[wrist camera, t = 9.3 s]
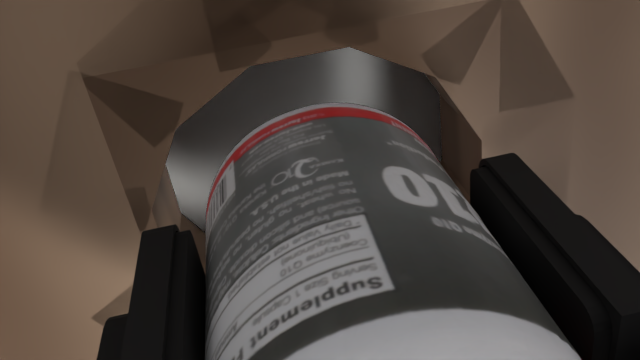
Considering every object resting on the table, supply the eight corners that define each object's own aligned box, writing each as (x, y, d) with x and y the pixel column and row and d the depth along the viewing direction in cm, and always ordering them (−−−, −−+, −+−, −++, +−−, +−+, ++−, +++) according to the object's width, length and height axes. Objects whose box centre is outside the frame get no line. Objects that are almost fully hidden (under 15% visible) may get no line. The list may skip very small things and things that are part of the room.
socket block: (750, -420, 10) (898, -491, 8) (621, 339, 19) (674, 402, 17) (-381, -251, 9) (-573, -281, 7) (64, 471, 18) (44, 555, 16)
